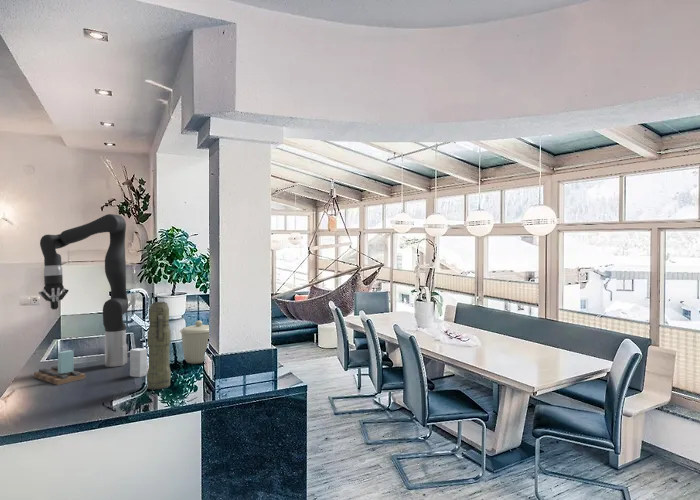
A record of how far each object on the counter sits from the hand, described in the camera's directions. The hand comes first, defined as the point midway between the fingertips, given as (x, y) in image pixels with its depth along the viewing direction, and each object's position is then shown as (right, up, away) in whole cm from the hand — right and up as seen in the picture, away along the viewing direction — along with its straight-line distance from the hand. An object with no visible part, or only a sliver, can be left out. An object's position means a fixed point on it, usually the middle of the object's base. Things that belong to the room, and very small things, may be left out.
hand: (54, 309), depth 211 cm
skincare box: (+51, -28, -19) cm, 61 cm away
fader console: (+17, -28, -22) cm, 39 cm away
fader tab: (+22, -25, -25) cm, 42 cm away
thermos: (+68, -28, -34) cm, 81 cm away
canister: (+70, -28, +6) cm, 75 cm away
